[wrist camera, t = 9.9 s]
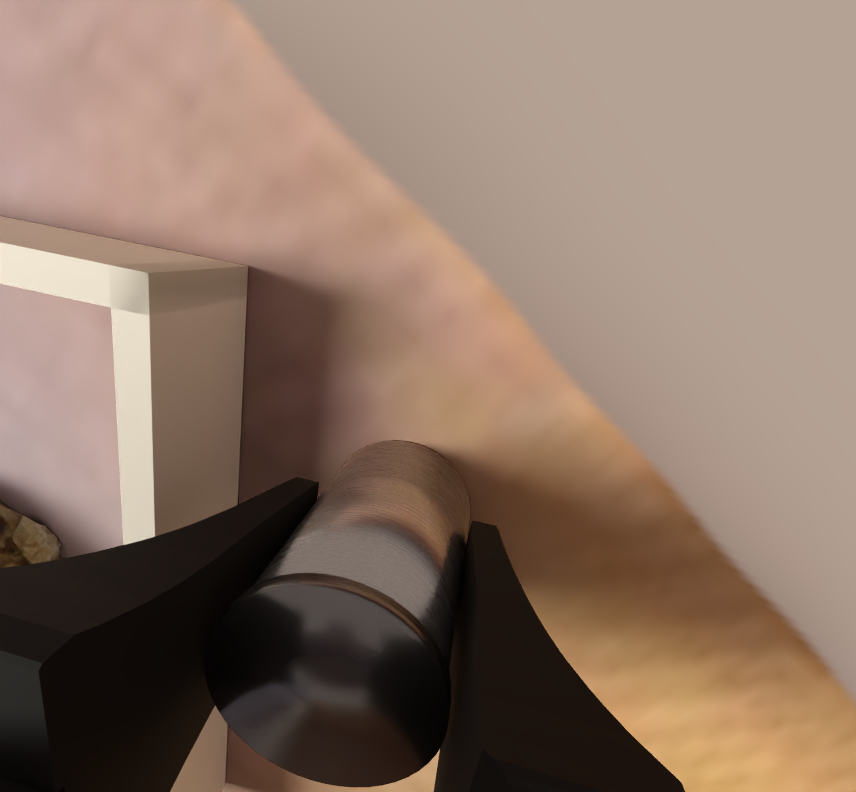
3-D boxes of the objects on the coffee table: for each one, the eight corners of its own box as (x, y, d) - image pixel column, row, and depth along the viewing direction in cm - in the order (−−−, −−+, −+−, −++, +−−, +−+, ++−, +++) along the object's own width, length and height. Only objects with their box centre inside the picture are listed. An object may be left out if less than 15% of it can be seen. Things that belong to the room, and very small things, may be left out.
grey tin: (457, 582, 14) (424, 815, 8) (323, 546, 14) (201, 746, 8) (488, 456, 12) (474, 632, 7) (339, 422, 13) (205, 560, 7)
